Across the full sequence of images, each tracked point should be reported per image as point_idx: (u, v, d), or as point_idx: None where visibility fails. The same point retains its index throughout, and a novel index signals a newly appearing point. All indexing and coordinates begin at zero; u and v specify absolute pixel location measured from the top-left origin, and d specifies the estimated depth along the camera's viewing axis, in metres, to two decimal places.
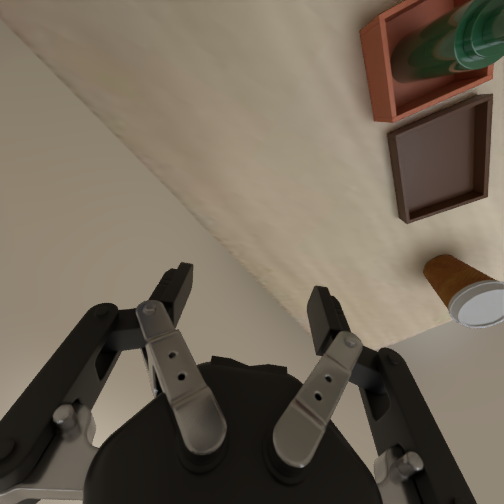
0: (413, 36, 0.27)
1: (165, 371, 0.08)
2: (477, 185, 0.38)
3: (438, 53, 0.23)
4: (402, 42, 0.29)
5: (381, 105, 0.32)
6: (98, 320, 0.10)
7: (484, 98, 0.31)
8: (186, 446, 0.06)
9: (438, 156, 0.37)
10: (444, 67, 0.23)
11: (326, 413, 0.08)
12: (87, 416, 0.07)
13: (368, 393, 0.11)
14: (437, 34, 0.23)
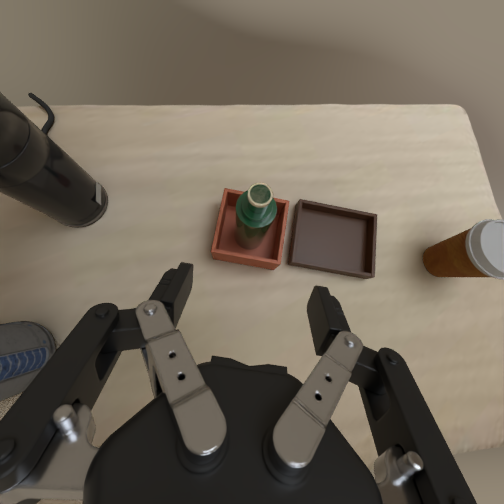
0: (236, 234, 0.39)
1: (165, 371, 0.08)
2: (363, 217, 0.45)
3: (252, 232, 0.33)
4: (236, 239, 0.41)
5: (264, 264, 0.40)
6: (98, 320, 0.10)
7: (299, 203, 0.43)
8: (186, 446, 0.06)
9: (325, 236, 0.45)
10: (262, 231, 0.33)
11: (326, 413, 0.08)
12: (87, 416, 0.07)
13: (368, 393, 0.11)
14: (242, 229, 0.34)
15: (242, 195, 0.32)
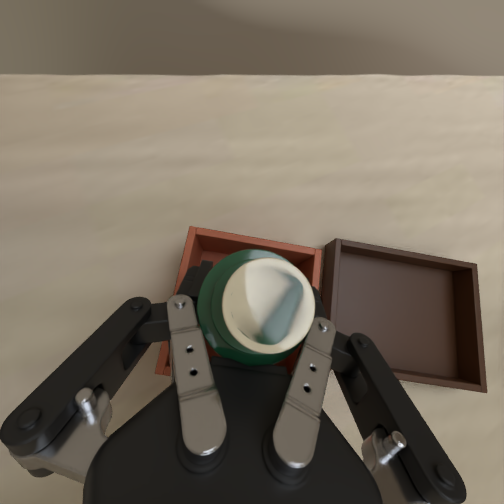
0: None
1: (180, 363, 0.08)
2: (448, 268, 0.25)
3: None
4: None
5: None
6: (132, 312, 0.10)
7: (336, 247, 0.23)
8: (183, 441, 0.06)
9: (382, 304, 0.25)
10: None
11: (317, 403, 0.08)
12: (105, 403, 0.08)
13: (344, 378, 0.12)
14: None
15: (216, 269, 0.11)
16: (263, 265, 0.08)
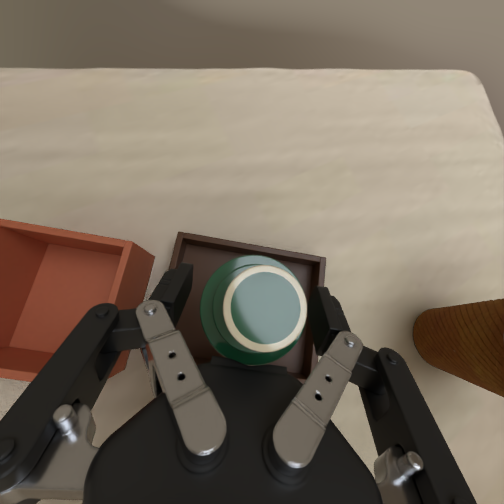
0: None
1: (165, 371, 0.08)
2: (303, 262, 0.25)
3: None
4: None
5: None
6: (98, 320, 0.10)
7: (177, 241, 0.23)
8: (186, 446, 0.06)
9: None
10: None
11: (326, 413, 0.08)
12: (87, 416, 0.07)
13: (368, 393, 0.11)
14: None
15: (217, 274, 0.12)
16: (260, 272, 0.08)
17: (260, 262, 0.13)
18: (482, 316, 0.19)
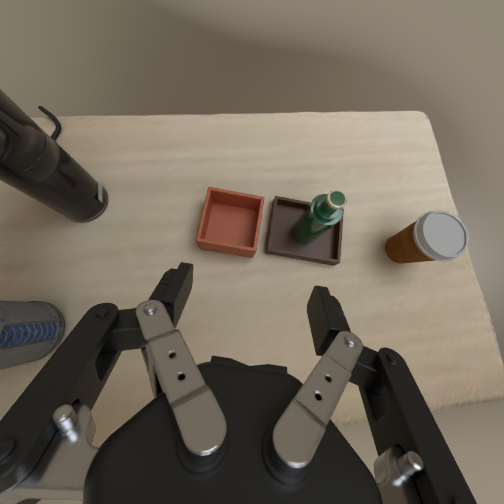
0: (298, 232, 0.46)
1: (165, 371, 0.08)
2: None
3: (321, 229, 0.40)
4: (295, 236, 0.49)
5: (243, 252, 0.46)
6: (98, 320, 0.10)
7: (275, 200, 0.50)
8: (186, 446, 0.06)
9: None
10: (329, 228, 0.41)
11: (326, 413, 0.08)
12: (87, 416, 0.07)
13: (368, 393, 0.11)
14: (311, 227, 0.41)
15: (315, 199, 0.39)
16: (335, 191, 0.35)
17: None
18: (409, 227, 0.45)
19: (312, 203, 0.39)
